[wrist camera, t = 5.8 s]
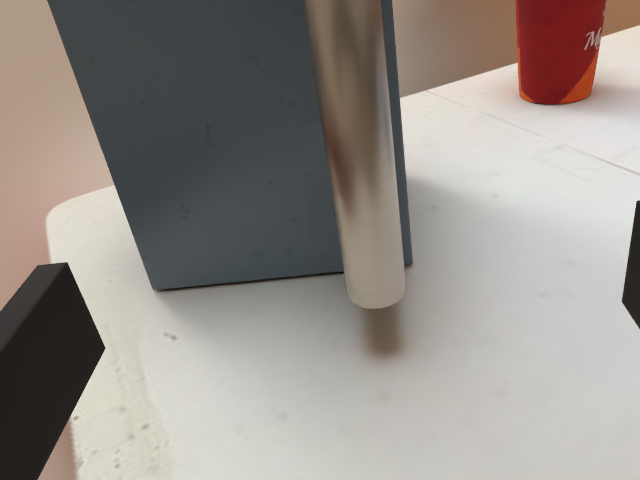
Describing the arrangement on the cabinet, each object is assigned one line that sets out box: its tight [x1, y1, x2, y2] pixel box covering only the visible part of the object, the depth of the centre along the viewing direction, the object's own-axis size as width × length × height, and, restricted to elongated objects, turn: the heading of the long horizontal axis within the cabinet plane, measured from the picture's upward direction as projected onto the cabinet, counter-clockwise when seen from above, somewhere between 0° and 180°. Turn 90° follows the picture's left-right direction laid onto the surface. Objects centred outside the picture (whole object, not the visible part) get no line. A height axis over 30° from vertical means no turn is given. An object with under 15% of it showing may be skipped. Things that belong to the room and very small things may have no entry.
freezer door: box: [47, 0, 413, 309], centre depth 25 cm, size 8×15×20 cm, turn 88°
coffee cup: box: [516, 0, 607, 104], centre depth 48 cm, size 8×8×15 cm
